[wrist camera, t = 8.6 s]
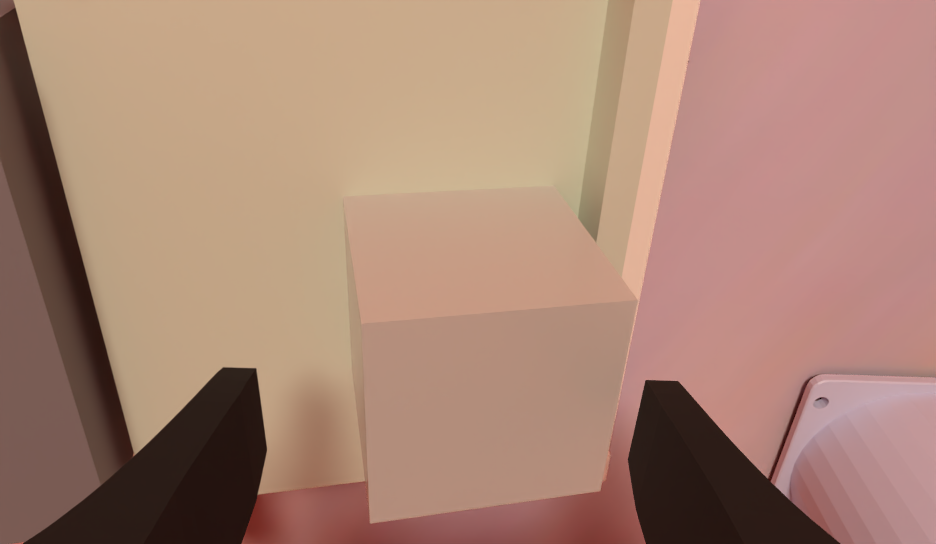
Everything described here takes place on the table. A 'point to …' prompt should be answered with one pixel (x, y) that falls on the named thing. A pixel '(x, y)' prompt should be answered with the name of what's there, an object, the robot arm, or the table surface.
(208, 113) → the trapdoor
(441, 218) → the beige cube
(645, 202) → the frame
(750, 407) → the table surface
